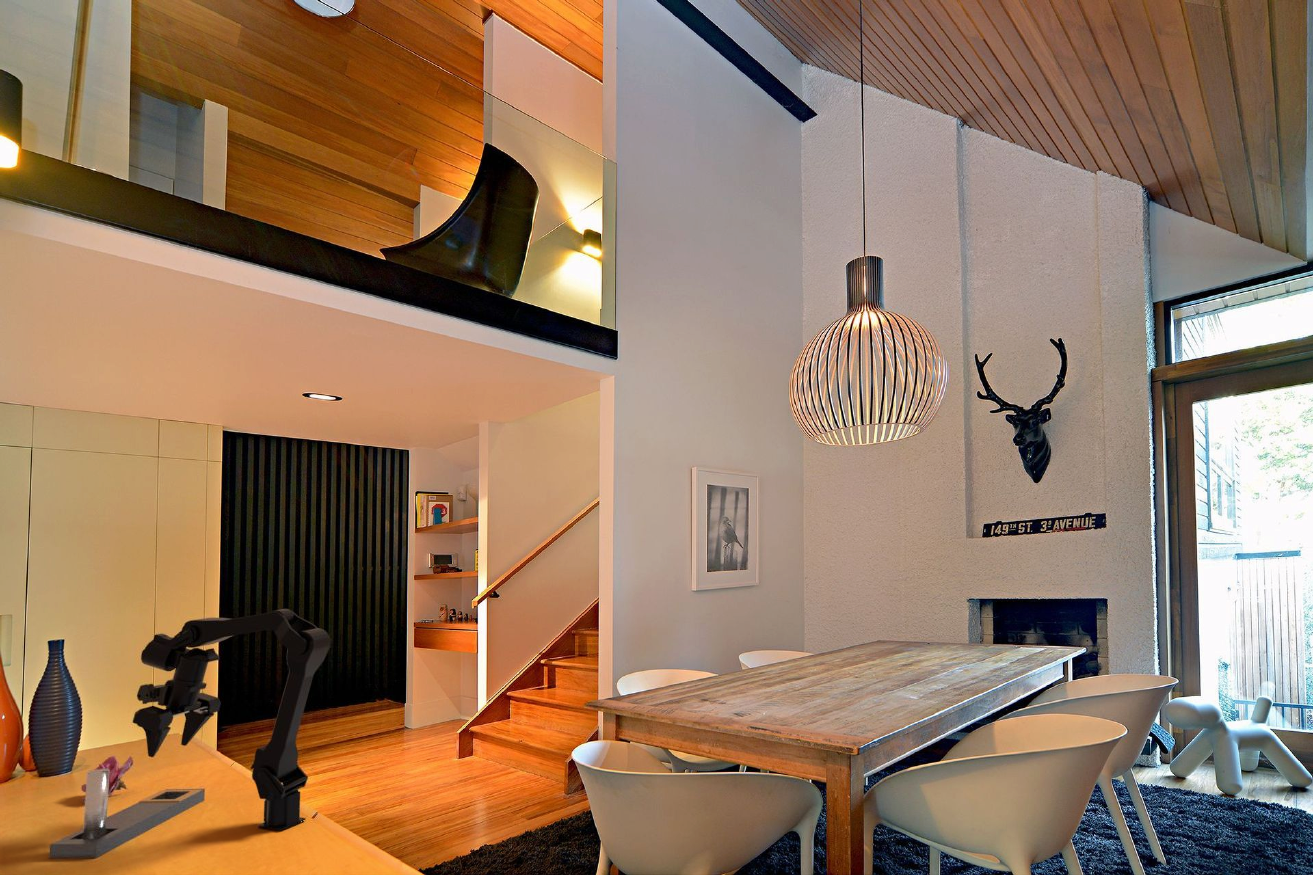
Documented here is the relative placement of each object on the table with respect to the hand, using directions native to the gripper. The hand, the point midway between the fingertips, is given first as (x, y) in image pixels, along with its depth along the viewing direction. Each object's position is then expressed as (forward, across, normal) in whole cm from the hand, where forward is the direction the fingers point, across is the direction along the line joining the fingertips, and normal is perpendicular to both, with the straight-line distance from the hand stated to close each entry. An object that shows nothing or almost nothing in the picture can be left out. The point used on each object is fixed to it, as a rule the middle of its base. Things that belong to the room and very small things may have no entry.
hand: (167, 750), depth 168 cm
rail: (+15, +3, 0) cm, 15 cm away
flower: (+21, -14, -22) cm, 33 cm away
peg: (+14, +14, +1) cm, 20 cm away
